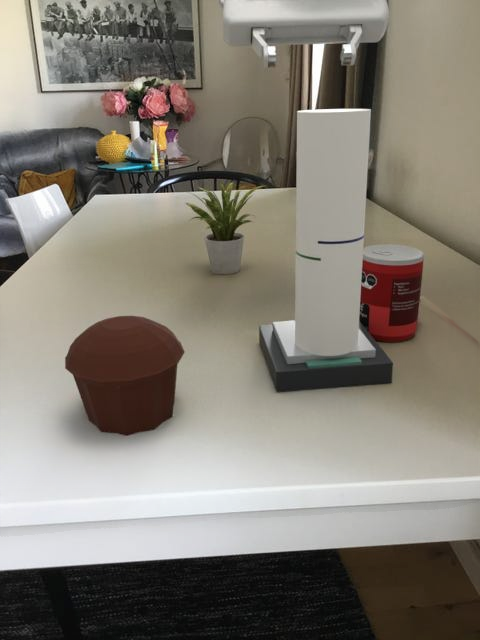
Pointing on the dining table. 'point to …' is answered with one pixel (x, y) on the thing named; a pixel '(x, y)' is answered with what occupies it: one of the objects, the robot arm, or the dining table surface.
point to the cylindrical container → (330, 227)
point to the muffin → (126, 373)
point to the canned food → (390, 291)
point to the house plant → (223, 229)
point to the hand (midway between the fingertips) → (309, 62)
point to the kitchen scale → (321, 361)
